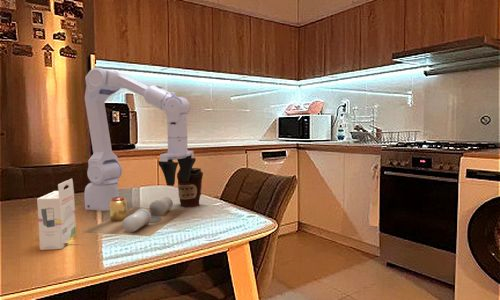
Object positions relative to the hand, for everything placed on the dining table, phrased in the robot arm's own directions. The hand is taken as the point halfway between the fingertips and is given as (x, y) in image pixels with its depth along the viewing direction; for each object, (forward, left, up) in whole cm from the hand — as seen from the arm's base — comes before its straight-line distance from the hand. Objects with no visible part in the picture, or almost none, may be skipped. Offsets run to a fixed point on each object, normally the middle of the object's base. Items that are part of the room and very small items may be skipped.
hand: (178, 183), depth 108 cm
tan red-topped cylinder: (-14, -10, -9) cm, 19 cm away
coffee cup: (0, +10, -10) cm, 14 cm away
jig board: (-8, -9, -10) cm, 15 cm away
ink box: (-19, -28, -10) cm, 35 cm away
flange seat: (-5, -9, -9) cm, 13 cm away
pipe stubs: (-5, -9, -10) cm, 14 cm away
